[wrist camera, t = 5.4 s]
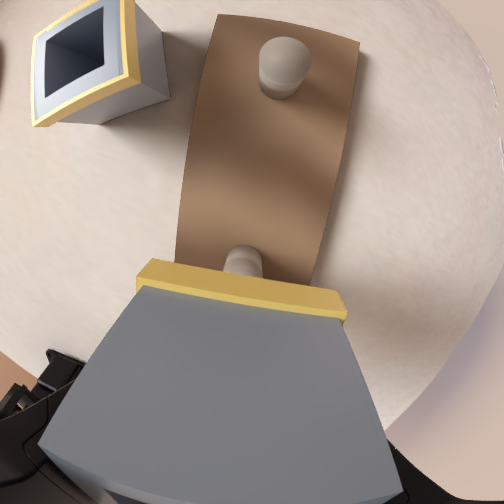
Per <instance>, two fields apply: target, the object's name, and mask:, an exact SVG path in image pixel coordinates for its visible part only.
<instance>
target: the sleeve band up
mask: <svg viewBox="0 0 504 504" xmlns="http://www.w3.org/2000/svg"><path fill="white" fill-rule="evenodd" d="M103 64H105V65H103ZM169 99H171V97H170V91H169V84H168V77H167V70H166V63H165V56H164V48H163V39H162V31H161V30H160V29H159V28H158V27H157V25H156V24H155V23H154V22H153V21H152V20H151V19H150V18H149V17H148V16H147V15H146V13H145V12H144V11H143V10H142V9H141V8H140V7H139V6H138V5H137V4H136V3H135V0H89V1H87V2H85V3H83V4H82V5H80V6H78V7H77V8H75V9H73V10H72V11H70V12H68V13H67V14H65V15H64V16H62V17H61V18H59V19H58V20H56V21H55V22H53V23H52V24H50V25H49V26H47V27H46V28H45V29H43V30H42V31H41V32H39V33H38V34H37V35H35V36H34V39H33V49H32V62H31V113H32V127H49V126H51V125H52V124H54V123H56V122H67V123H82V124H95V125H100V124H102V123H104V122H107V121H109V120H112V119H114V118H117V117H119V116H122V115H125V114H127V113H130V112H133V111H135V110H138V109H141V108H144V107H147V106H150V105H153V104H156V103H159V102H162V101H166V100H169Z"/></svg>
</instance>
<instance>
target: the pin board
mask: <svg viewBox="0 0 504 504" xmlns="http://www.w3.org/2000/svg"><path fill="white" fill-rule="evenodd" d="M359 46H360V42H357V41H354V40H351V39H348V38H345V37H342V36H339V35H335V34H332V33H329V32H325V31H321V30H318V29H314V28H310V27H306V26H301V25H297V24H292V23H287V22H282V21H276V20H270V19H263V18H256V17H247V16H237V15H224V14H218V16H217V19H216V22H215V26H214V29H213V33H212V37H211V40H210V44H209V48H208V52H207V56H206V60H205V64H204V68H203V73H202V77H201V81H200V86H199V91H198V95H197V100H196V105H195V110H194V115H193V121H192V126H191V132H190V137H189V143H188V149H187V156H186V162H185V169H184V176H183V184H182V191H181V199H180V208H179V217H178V227H177V237H176V249H175V262H174V263H179V264H185V265H190V266H195V267H201V268H206V269H212V270H217V271H223V272H228V273H234V274H239V275H245V276H251V277H257V278H263V279H269V280H274V281H281V282H287V283H293V284H299V285H305V286H309V283H310V280H311V277H312V273H313V270H314V266H315V263H316V259H317V256H318V252H319V248H320V245H321V241H322V237H323V233H324V229H325V226H326V222H327V218H328V214H329V210H330V206H331V201H332V197H333V193H334V189H335V184H336V180H337V175H338V171H339V166H340V162H341V157H342V152H343V147H344V142H345V137H346V131H347V126H348V121H349V115H350V109H351V103H352V97H353V91H354V84H355V77H356V70H357V62H358V55H359Z"/></svg>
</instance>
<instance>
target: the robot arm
mask: <svg viewBox="0 0 504 504" xmlns="http://www.w3.org/2000/svg"><path fill="white" fill-rule="evenodd" d="M46 355H47V358H48V361H49V363H50V364H49V365H48V366H47V367H46V369H45V370H44V371H43V373H42V374H41V375H40V377H39V378H38V380H37V381H38V382H37V383H36V385H35V386H34V388H33V389H32V390H31V392H30V391H29V390H28V389H27V387H26V386H25V385H24V384H23V385H22V387H21V386H20V385H18V384H16V383H14V385H13V386H12V387H11V389H10V390H9V391H8V393H7V394H6V395H5V397H4V398H3V399H2V401H1V402H0V504H98V503H97V502H96V501H95V500H93V499H92V498H91V497H90V496H89V495H87V494H86V493H85V492H84V491H83V490H82V489H81V488H79V487H78V486H77V485H76V484H75V483H74V482H73V481H72V480H71V479H70V478H69V477H68V476H67V475H66V474H65V473H64V472H63V471H62V470H61V469H60V468H59V467H58V466H57V465H56V464H55V463H54V462H53V461H52V460H51V459H50V458H49V457H48V456H47V454H46V453H45V452H44V451H43V450H42V449H41V448H40V446H39V445H38V442H39V441H40V439H41V437H42V435H43V433H44V431H45V430H46V428H47V426H48V424H49V423H50V421H51V419H52V417H53V416H54V414H55V412H56V411H57V409H58V407H59V406H60V404H61V402H62V401H63V399H64V398H65V396H66V394H67V393H68V391H69V390H70V388H71V386H72V385H73V383H74V382H75V380H76V379H77V377H78V375H79V374H80V372H81V371H82V369H83V368H84V366H85V364H83V363H80V362H78V361H75V360H73V359H70V358H68V357H66V356H63V355H61V354H59V353H57V352H55V351H52V350H50V349H48V350H47V351H46ZM17 403H19V404H20V405H21V406H22V407H23V409H21V408H20V407H19V406H18V405H17ZM386 439H387V438H386ZM387 442H388V444H389V447H390V450H391V453H392V456H393V459H394V462H395V466H396V469H397V472H398V475H399V478H400V481H401V485H402V488H403V491H402V492H401V493H399V494H398V495H396V496H395V497H393V498H391V499H390V500H388V501H386V502H385V503H383V504H504V501H477V500H475V501H474V500H464V499H460V498H457V497H455V496H453V495H451V494H449V493H448V492H446V491H445V490H444V489H442V488H441V487H440V486H438V485H437V484H436V483H434V482H433V481H432V480H431V479H429V478H428V477H427V476H425V475H424V474H423V473H422V472H421V471H419V470H418V469H417V468H416V467H414V465H413V464H411V463H410V462H409V461H408V460H407V459H406V458H405V457H404V456H403V455H402V454H401V453H400V452H399V451H398V450H397V449H395V447H394V446H393V445H392V444H391V442H390V441H389V440H388V439H387Z"/></svg>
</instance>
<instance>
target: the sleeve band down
mask: <svg viewBox="0 0 504 504" xmlns="http://www.w3.org/2000/svg"><path fill="white" fill-rule="evenodd" d="M347 313H348V312H347V310H346V308H345V306H344V304H343V302H342V300H341V298H340V296H339V294H338V292H337V290H331V289H324V288H318V287H312V286H305V285H299V284H293V283H287V282H281V281H274V280H269V279H263V278H257V277H251V276H245V275H239V274H234V273H228V272H223V271H217V270H212V269H206V268H201V267H195V266H190V265H185V264H179V263H174V262H169V261H164V260H159V259H154V258H152V259H151V260H150V261H149V262H148V264H147V265H146V266H145V267H144V268H143V269H142V270H141V271H140V272H139V274H138V275H137V276H136V295H135V296H134V298H133V299H132V300H131V302H130V303H129V304H128V306H127V307H126V308H125V310H124V311H123V312H122V314H121V315H120V316H119V318H118V319H117V320H116V322H115V323H114V325H113V326H112V327H111V329H110V330H109V332H108V333H107V334H106V336H105V337H104V339H103V340H102V341H101V343H100V344H99V346H98V347H97V349H96V350H95V352H94V353H93V354H92V356H91V357H90V359H89V360H88V362H87V363H86V365H85V366H84V368H83V369H82V371H81V372H80V374H79V375H78V377H77V379H76V380H75V382H74V383H73V385H72V386H71V388H70V390H69V391H68V393H67V394H66V396H65V398H64V399H63V401H62V402H61V404H60V406H59V407H58V409H57V411H56V412H55V414H54V416H53V417H52V419H51V421H50V423H49V424H48V426H47V428H46V430H45V431H44V433H43V435H42V437H41V439H40V441H39V442H38V445H39V446H40V448H41V449H42V450H43V451H44V452H45V453H46V454H47V456H48V457H49V458H50V459H51V460H52V461H53V462H54V463H55V464H56V465H57V466H58V467H59V468H60V469H61V470H62V471H63V472H64V473H65V474H66V475H67V476H68V477H69V478H70V479H71V480H72V481H73V482H74V483H75V484H76V485H77V486H78V487H79V488H81V489H82V490H83V491H84V492H85V493H86V494H87V495H89V496H90V497H91V498H92V499H93V500H95V501H96V502H97V503H98V504H383V503H385V502H386V501H388V500H390V499H391V498H393V497H395V496H396V495H398V494H399V493H401V492H402V491H403V488H402V485H401V481H400V478H399V475H398V472H397V469H396V466H395V462H394V459H393V456H392V453H391V450H390V447H389V444H388V442H387V439H386V436H385V433H384V430H383V427H382V425H381V422H380V419H379V416H378V414H377V411H376V408H375V406H374V403H373V400H372V398H371V395H370V393H369V390H368V387H367V385H366V382H365V380H364V377H363V375H362V372H361V370H360V367H359V365H358V362H357V360H356V358H355V355H354V353H353V350H352V348H351V346H350V343H349V341H348V339H347V336H346V334H345V332H344V329H343V327H342V326H343V323H344V321H345V318H346V316H347Z"/></svg>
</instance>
